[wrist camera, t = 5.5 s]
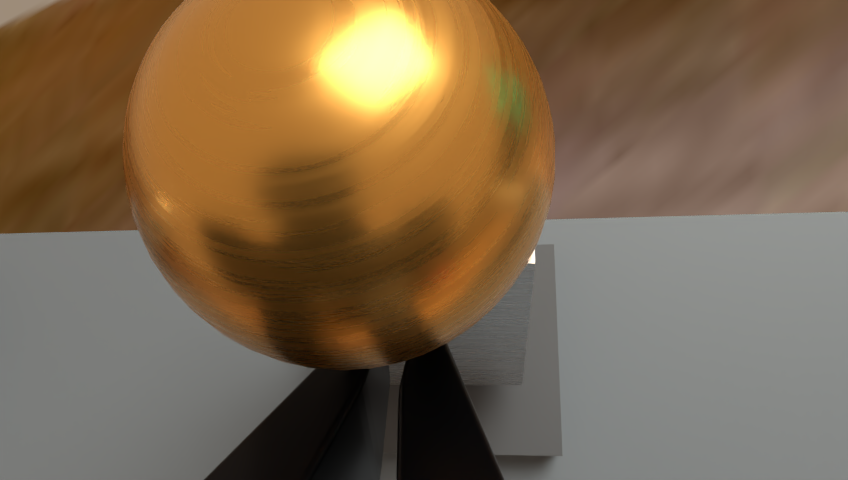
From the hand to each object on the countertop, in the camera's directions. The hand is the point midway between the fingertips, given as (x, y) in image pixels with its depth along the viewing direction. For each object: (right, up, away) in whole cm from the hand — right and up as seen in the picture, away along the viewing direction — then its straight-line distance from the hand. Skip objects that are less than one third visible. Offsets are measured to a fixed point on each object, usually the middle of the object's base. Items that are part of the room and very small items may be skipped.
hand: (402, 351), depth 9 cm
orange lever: (+1, -1, +4) cm, 4 cm away
